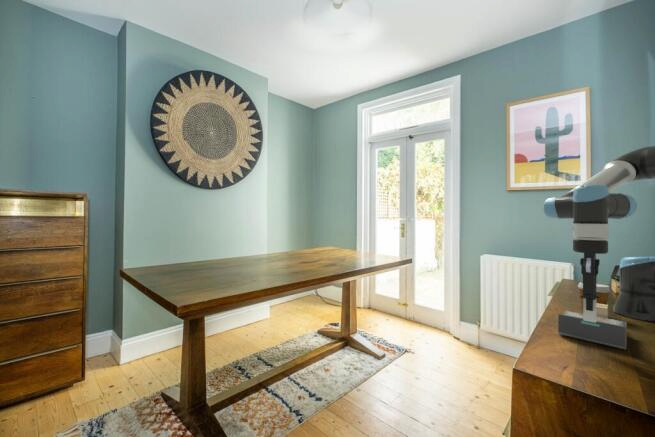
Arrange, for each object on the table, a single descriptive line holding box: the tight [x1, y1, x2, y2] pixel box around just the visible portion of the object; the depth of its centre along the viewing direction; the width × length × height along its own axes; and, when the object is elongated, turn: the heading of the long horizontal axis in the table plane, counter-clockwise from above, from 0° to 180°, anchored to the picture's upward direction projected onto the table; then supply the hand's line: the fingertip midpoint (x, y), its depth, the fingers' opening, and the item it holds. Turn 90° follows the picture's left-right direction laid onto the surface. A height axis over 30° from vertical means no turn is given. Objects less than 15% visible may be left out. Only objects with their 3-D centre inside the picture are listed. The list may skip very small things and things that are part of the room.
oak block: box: [596, 303, 609, 319], centre depth 102 cm, size 6×6×7 cm
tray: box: [557, 313, 627, 349], centre depth 91 cm, size 14×15×6 cm
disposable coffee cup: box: [577, 281, 612, 313], centre depth 113 cm, size 10×10×12 cm
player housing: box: [558, 310, 627, 350], centre depth 92 cm, size 15×15×4 cm
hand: (589, 320), depth 84 cm, fingers closed
